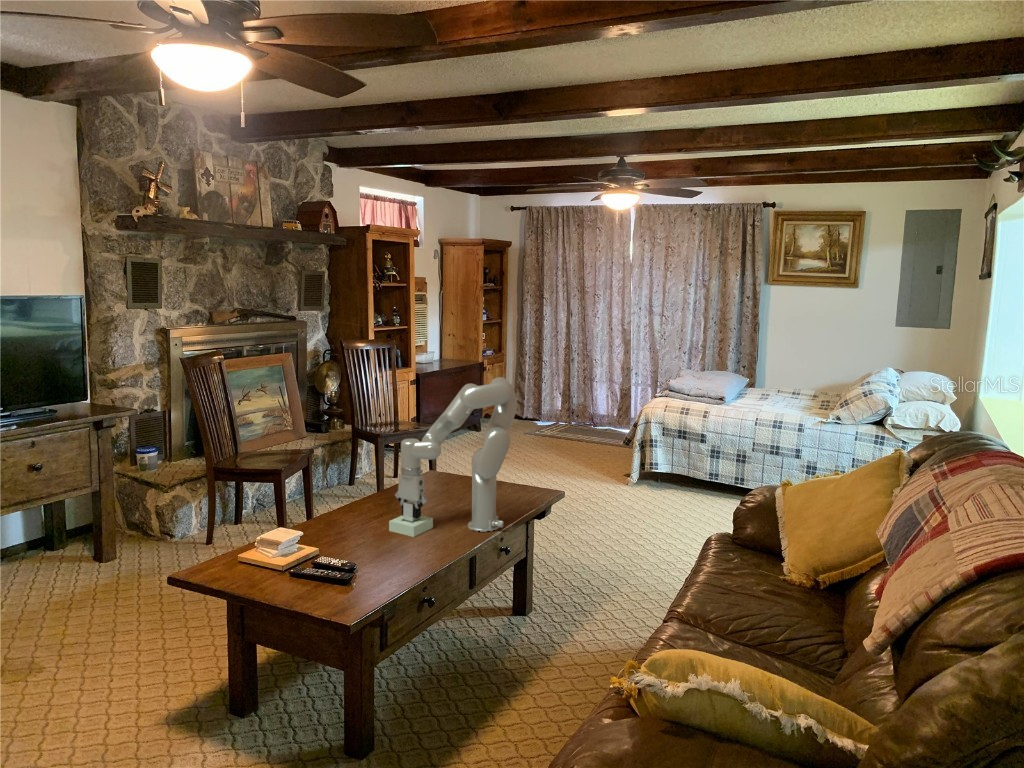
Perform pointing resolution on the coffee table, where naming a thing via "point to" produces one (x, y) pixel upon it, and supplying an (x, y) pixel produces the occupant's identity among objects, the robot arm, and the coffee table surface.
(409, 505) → the steel bar
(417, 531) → the well block
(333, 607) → the coffee table surface
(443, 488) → the coffee table surface
